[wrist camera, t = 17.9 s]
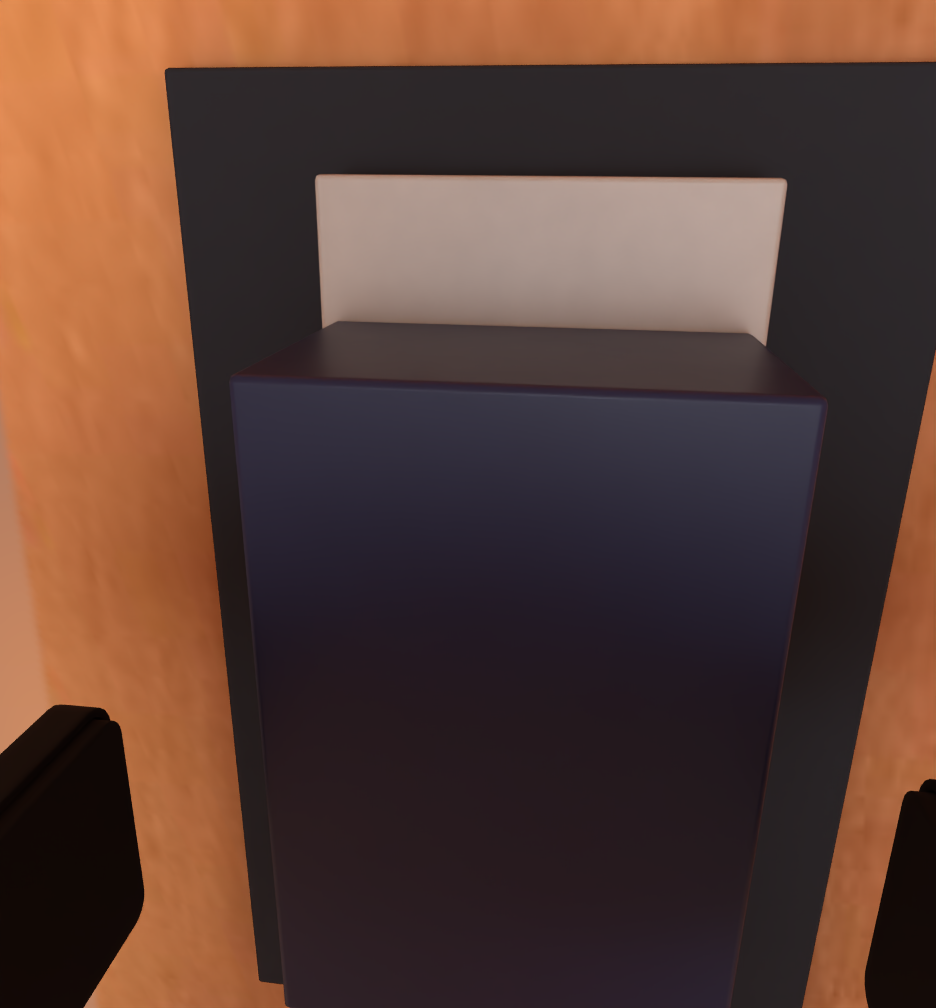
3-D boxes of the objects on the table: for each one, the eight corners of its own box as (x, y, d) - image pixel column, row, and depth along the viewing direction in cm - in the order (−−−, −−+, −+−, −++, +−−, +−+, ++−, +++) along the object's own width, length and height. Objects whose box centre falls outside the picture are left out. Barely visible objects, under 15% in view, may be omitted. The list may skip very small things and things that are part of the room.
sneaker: (342, 175, 13) (185, 164, 8) (766, 179, 12) (894, 170, 7) (372, 948, 19) (291, 1234, 14) (666, 984, 18) (697, 1300, 13)
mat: (788, 1026, 19) (795, 1051, 18) (266, 960, 20) (257, 982, 20) (977, 66, 12) (996, 60, 11) (179, 71, 13) (162, 67, 13)
